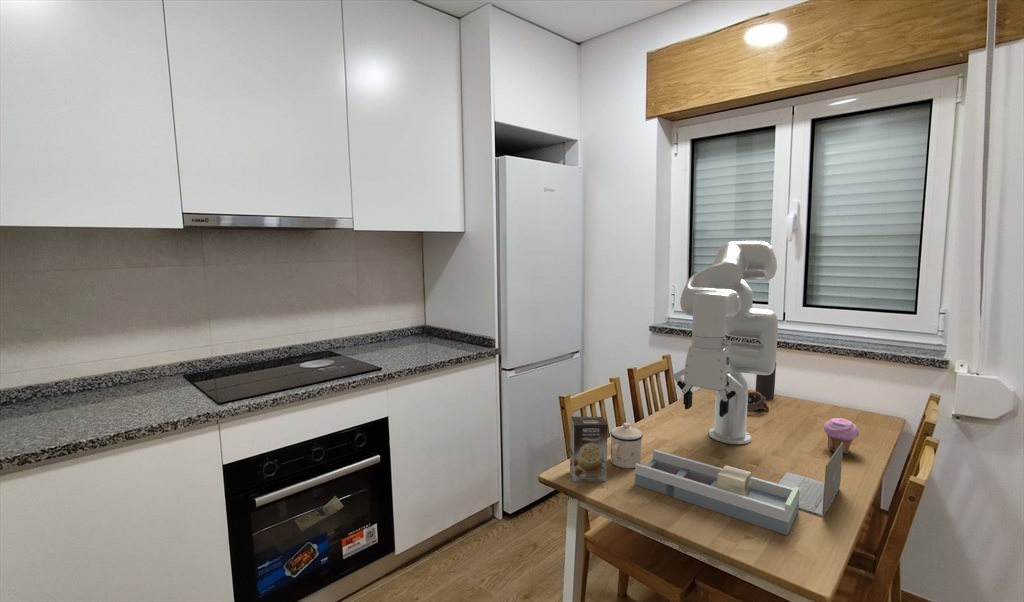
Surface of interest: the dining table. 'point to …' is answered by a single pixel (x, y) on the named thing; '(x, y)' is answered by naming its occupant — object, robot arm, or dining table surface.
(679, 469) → the channel
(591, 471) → the coffee box
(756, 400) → the pottery mug
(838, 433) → the cupcake
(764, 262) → the robot arm
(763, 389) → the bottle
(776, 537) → the dining table surface
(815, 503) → the laptop
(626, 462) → the teacup with lid
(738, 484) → the block
